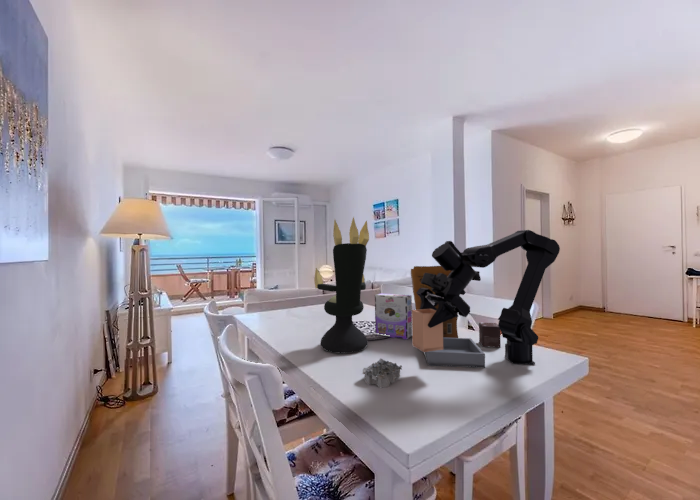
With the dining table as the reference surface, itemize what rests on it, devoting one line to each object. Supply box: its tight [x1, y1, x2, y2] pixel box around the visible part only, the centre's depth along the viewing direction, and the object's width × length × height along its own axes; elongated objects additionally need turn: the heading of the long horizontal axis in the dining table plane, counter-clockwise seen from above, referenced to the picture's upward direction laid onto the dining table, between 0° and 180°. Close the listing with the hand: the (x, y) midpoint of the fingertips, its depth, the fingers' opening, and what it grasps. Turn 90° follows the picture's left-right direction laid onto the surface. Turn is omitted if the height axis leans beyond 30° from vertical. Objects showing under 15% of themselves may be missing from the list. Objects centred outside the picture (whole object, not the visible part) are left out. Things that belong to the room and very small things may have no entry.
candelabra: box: [313, 216, 370, 354], centre depth 108 cm, size 19×22×45 cm
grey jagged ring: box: [362, 358, 403, 389], centre depth 83 cm, size 11×8×4 cm
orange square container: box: [411, 309, 443, 353], centre depth 86 cm, size 6×6×10 cm
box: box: [478, 322, 501, 348], centre depth 112 cm, size 6×6×7 cm
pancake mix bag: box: [410, 265, 459, 338], centre depth 122 cm, size 7×19×28 cm, turn 55°
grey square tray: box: [423, 337, 486, 369], centre depth 99 cm, size 16×16×4 cm
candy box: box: [374, 292, 413, 341], centre depth 124 cm, size 14×6×16 cm, turn 58°
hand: (422, 324), depth 86 cm, fingers closed on orange square container, 6 cm apart
